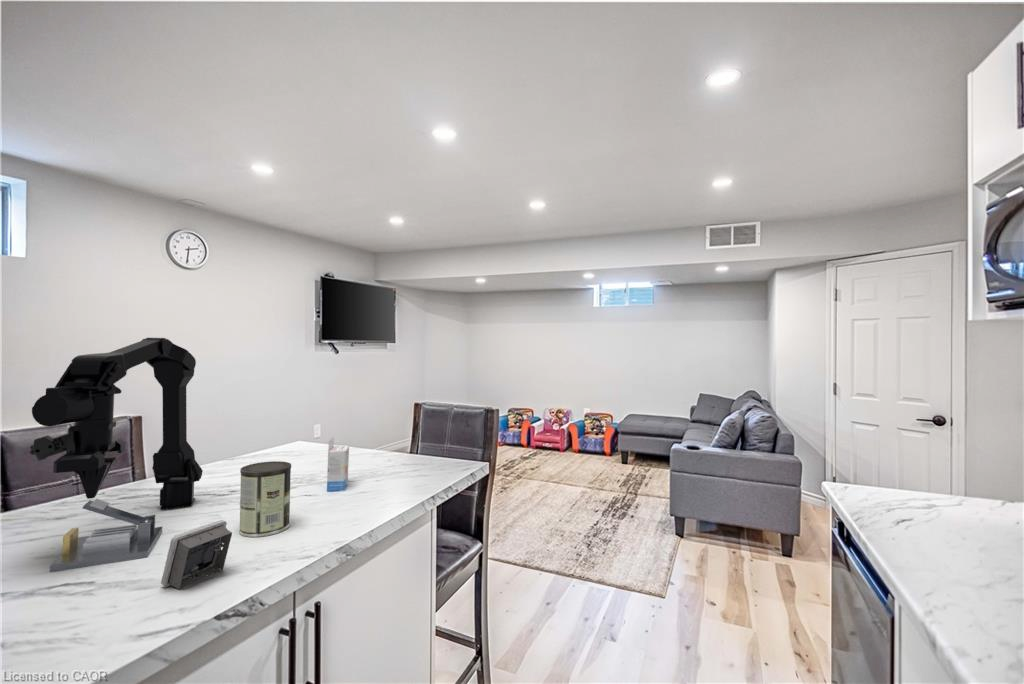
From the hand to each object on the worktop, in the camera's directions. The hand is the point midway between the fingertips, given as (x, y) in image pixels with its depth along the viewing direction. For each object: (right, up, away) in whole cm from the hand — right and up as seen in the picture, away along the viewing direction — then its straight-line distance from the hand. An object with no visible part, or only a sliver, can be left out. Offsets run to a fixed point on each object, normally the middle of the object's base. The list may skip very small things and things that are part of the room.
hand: (91, 497), depth 91 cm
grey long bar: (+4, -5, +2) cm, 6 cm away
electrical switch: (+28, -11, -9) cm, 31 cm away
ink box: (+31, -13, +47) cm, 57 cm away
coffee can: (+27, -12, +14) cm, 32 cm away
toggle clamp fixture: (+3, -11, +1) cm, 11 cm away
